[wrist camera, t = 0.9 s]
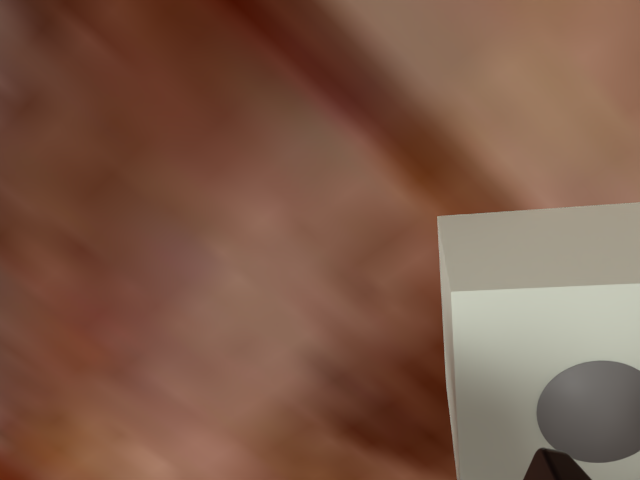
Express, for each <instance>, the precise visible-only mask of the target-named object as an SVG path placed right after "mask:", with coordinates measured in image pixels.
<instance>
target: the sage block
mask: <svg viewBox="0 0 640 480" xmlns="http://www.w3.org/2000/svg"><path fill="white" fill-rule="evenodd" d="M437 220H438V239H439V258H440V277H441V295H442V314H443V333H444V352H445V370H446V386H447V394H448V403H449V412H450V421H451V429H452V438H453V447H454V455H455V464H456V473H457V480H523V479H524V476H525V474H526V472H527V470H528V468H529V465H530V463H531V461H532V459H533V456H534V454H535V452H536V451H537V450H538V449H539V448H542V447H545V448H550V449H555V450H560V451H564V452H566V453H567V454H569V455H570V456H571V457H572V458H573V459H574V460H575V462H576V463H577V464H578V465H579V466H580V467H581V468H582V469H583V470H584V471H585V472H586V474H587V475H588V476H589V477H590V478H591V479H592V480H640V202H638V203H623V204H609V205H594V206H580V207H565V208H550V209H536V210H521V211H507V212H492V213H478V214H463V215H449V216H437Z"/></svg>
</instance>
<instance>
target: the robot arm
mask: <svg viewBox="0 0 640 480" xmlns="http://www.w3.org/2000/svg"><path fill="white" fill-rule="evenodd" d="M523 480H592V479H591V478H590V477H589V476H588V475H587V474H586V472H585V471H584V470H583V469H582V468H581V467H580V466H579V465H578V464H577V463H576V462H575V460H574V459H573V458H572V457H571V456H570V455H569V454H567V453H566V452H564V451H560V450H555V449H550V448H545V447H542V448H539V449H538V450H537V451H536V452H535V454H534V456H533V459H532V461H531V463H530V465H529V468H528V470H527V472H526V474H525V476H524V479H523Z"/></svg>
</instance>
